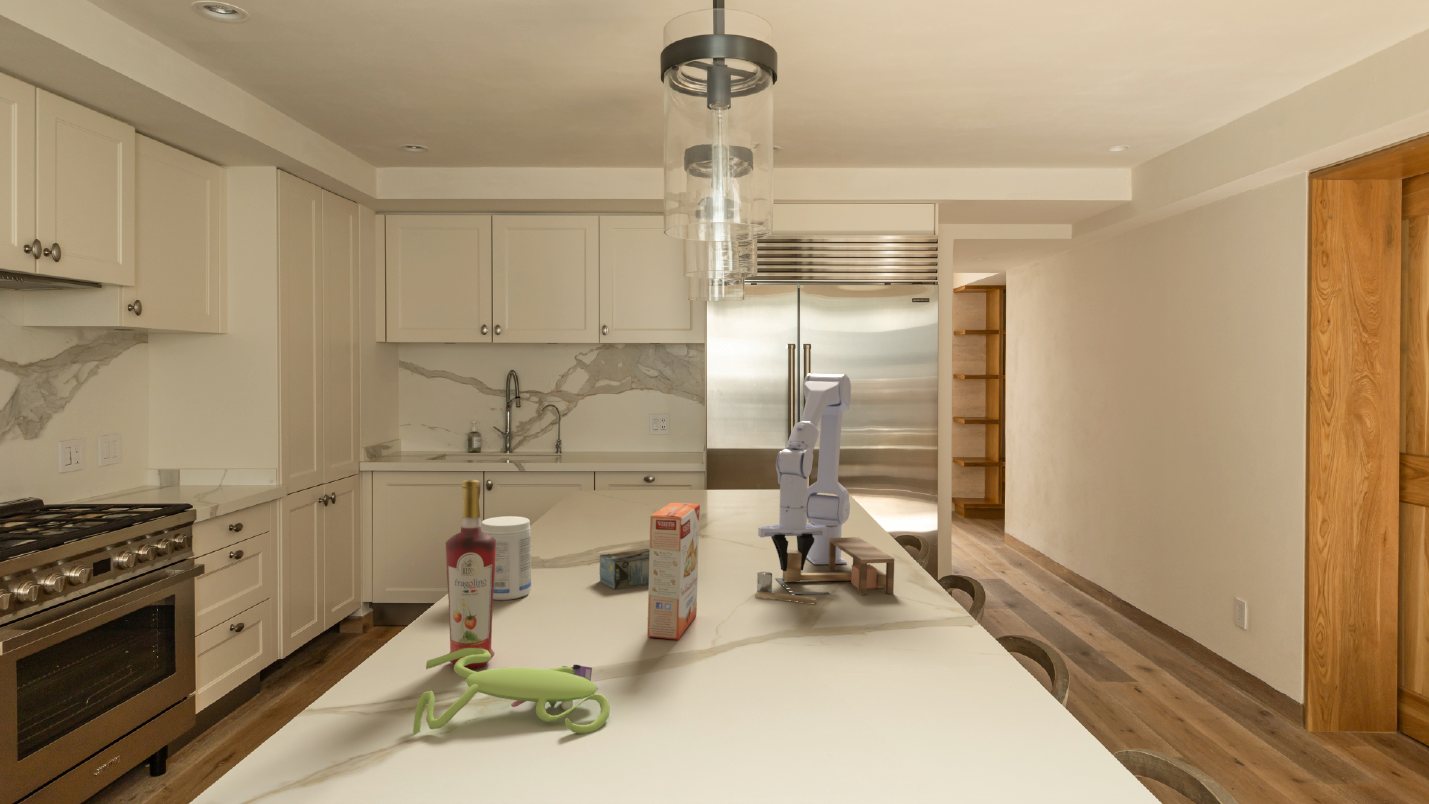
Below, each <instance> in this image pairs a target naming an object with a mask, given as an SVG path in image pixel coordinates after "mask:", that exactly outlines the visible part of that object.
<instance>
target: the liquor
mask: <svg viewBox="0 0 1429 804" xmlns="http://www.w3.org/2000/svg"><path fill="white" fill-rule="evenodd" d="M480 494H481V480H478V479H466V480H462V481H461V496H462V500H463V501H462V502H463V503H462V504H463V505H462V513H461V514H462V515H461V525H460V532H458V533H456V534H454V535H452V536H451V537H449V538H448V539H447V540H446V541H445V557H446V558H445V560H446V561H445V562H446V580H447V582H446V583H447V595H448V596H447V599H448V616H449V620H448V621H449V649H450V650H449V653H452V652H455V651H458V650H461V649H464V648H480V649H485V650H488V652H489V653H490V654H491V658H490V660H492V658H493V657H494V656H495V652H494V651H493V649H492V638H493V637H492V632H493V631H492V630H493V629H492V628H493V607H494V606H493V605H494V604H493V603H494V599H493V591H494V577H495V554H496V539H494V538H493V537H492V536H491V535H489V534H487V533H484V532H482V531H481V523H482V520H481V512H480V511H481V510H480V498H481V497H480ZM464 657H466V656H464ZM461 658H463V657H460V658H457V659H455V660H452V661H449V662H450V663H451V664H452V666H454V665H455V664H456V662H457V661H458V660H459V659H461ZM490 660H489V661H487V662H482V663H472V664H468V665H466V666H464V667H465V668H468V669H470V670H477V669H481V668H483V667H485V666H486V665H487V664H488V663H489V662H490Z"/></svg>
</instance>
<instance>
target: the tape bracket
mask: <svg viewBox="0 0 1429 804" xmlns="http://www.w3.org/2000/svg"><path fill="white" fill-rule="evenodd" d="M775 580H776V581H777V582H778V583H779V584H780V585H781V586H782V585H784V587H783V588H784V589H785V588H791V587H790V586H789V585H788V584H787V583H786V581H785V580H784V579H783V577H776V578H775ZM786 585H788V586H786ZM786 591H787V592H788V591H794V590H793V589H792V588H791V589H787V590H786ZM824 593H825V594H824ZM827 593H830V592H829V591H810V592H809V591H808V592H805V591H804V592H795V591H794V592H790V593H789V595H791V594H814V595H828V594H827Z"/></svg>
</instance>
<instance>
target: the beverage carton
mask: <svg viewBox="0 0 1429 804" xmlns="http://www.w3.org/2000/svg"><path fill="white" fill-rule="evenodd" d="M649 552H650V547H649V548H644V549H643V548H642V549H637V550H630V551H622V552H621V551H619V552H615V553H607V554H600V555H599V582H600V583H602V584H604V585H606V586H607V587H610V589H613V590H621V589H628V588H635V587H641V586H646V585H648V586H649Z"/></svg>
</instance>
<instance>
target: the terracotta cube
mask: <svg viewBox="0 0 1429 804" xmlns="http://www.w3.org/2000/svg"><path fill="white" fill-rule="evenodd" d="M871 565H872V564H871V563H867V589H877V587H876V580H877V569H878V568H877V567H875V566H874V567H875V568H874V567H873V565H872V566H871ZM876 568H877V569H876ZM850 573H851V580H850V581H851V582H850V583H852V584H851V585H852V586H854V585H855V586H856V587H857V588H856V587H855V586H854V587H855V588H856V589H858V588H859V565H853V564H851V572H850Z"/></svg>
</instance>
